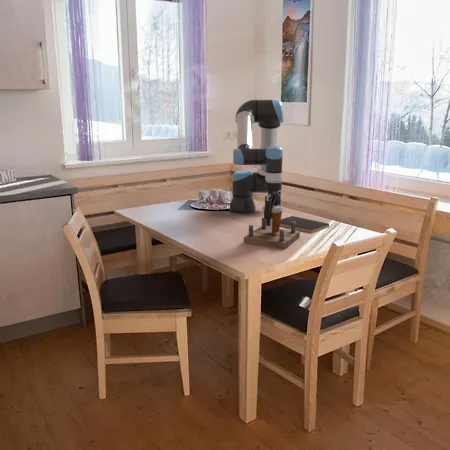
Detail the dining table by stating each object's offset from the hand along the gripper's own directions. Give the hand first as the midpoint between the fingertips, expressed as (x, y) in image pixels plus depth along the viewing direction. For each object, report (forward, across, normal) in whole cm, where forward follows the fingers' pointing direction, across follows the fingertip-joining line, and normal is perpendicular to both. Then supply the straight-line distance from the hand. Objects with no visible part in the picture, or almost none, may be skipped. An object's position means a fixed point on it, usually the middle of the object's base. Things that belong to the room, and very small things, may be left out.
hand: (272, 229), depth 230 cm
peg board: (+5, 0, 0) cm, 5 cm away
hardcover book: (+6, -31, +4) cm, 32 cm away
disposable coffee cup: (+1, 0, 0) cm, 1 cm away
